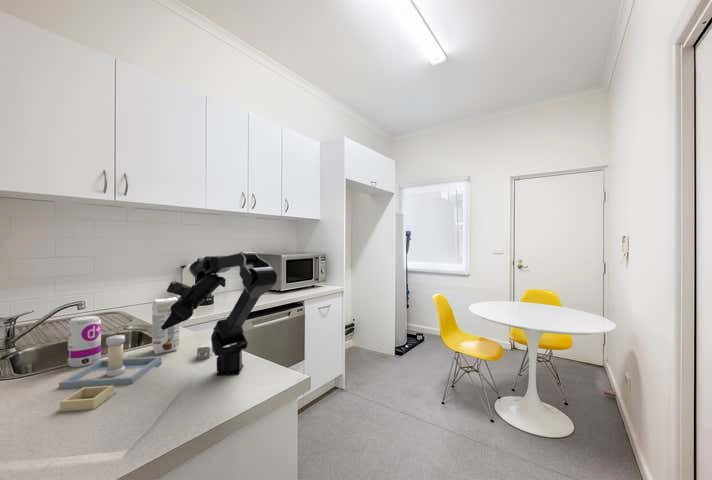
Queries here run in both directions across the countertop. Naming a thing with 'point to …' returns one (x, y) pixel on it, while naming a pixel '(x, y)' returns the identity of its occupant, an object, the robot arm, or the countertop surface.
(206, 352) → the usb wall charger
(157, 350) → the juice carton
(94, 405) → the yellow rectangular frame
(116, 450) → the countertop surface
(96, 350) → the supplement can
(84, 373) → the tray
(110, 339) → the pale spool-shaped piece
